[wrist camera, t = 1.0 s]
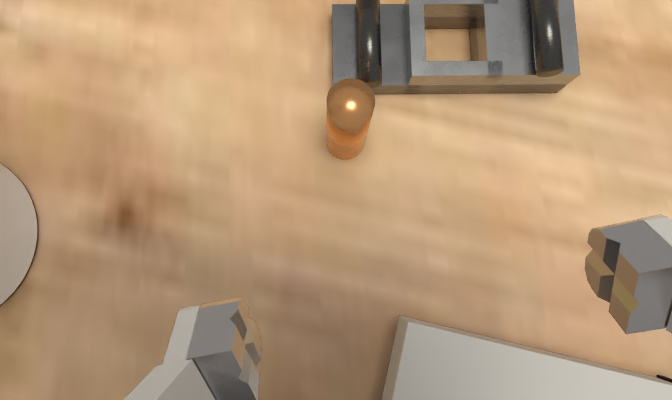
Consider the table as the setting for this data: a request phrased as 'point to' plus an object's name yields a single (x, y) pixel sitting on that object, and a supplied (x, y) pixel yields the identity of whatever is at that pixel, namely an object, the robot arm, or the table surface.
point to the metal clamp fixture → (485, 44)
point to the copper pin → (348, 117)
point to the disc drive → (501, 370)
